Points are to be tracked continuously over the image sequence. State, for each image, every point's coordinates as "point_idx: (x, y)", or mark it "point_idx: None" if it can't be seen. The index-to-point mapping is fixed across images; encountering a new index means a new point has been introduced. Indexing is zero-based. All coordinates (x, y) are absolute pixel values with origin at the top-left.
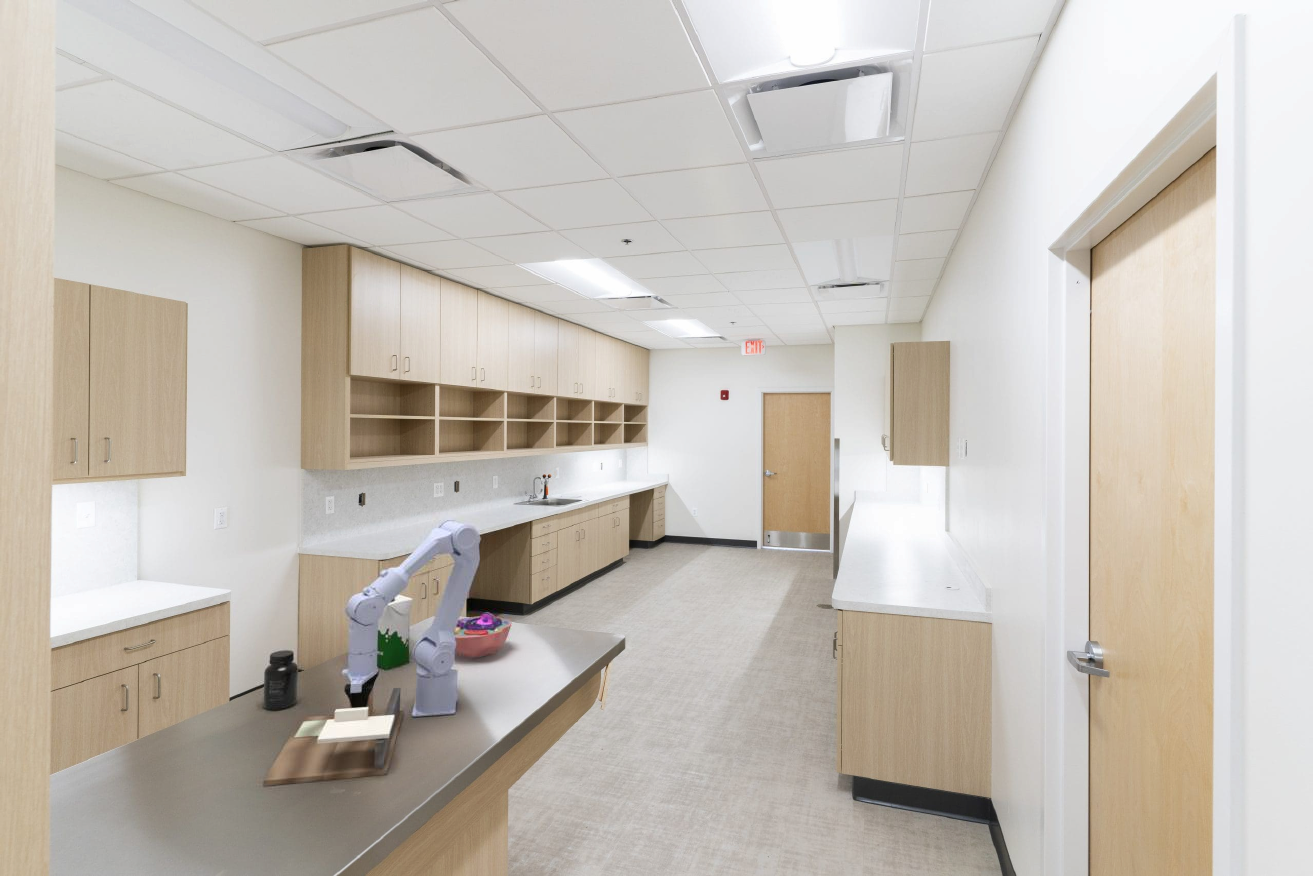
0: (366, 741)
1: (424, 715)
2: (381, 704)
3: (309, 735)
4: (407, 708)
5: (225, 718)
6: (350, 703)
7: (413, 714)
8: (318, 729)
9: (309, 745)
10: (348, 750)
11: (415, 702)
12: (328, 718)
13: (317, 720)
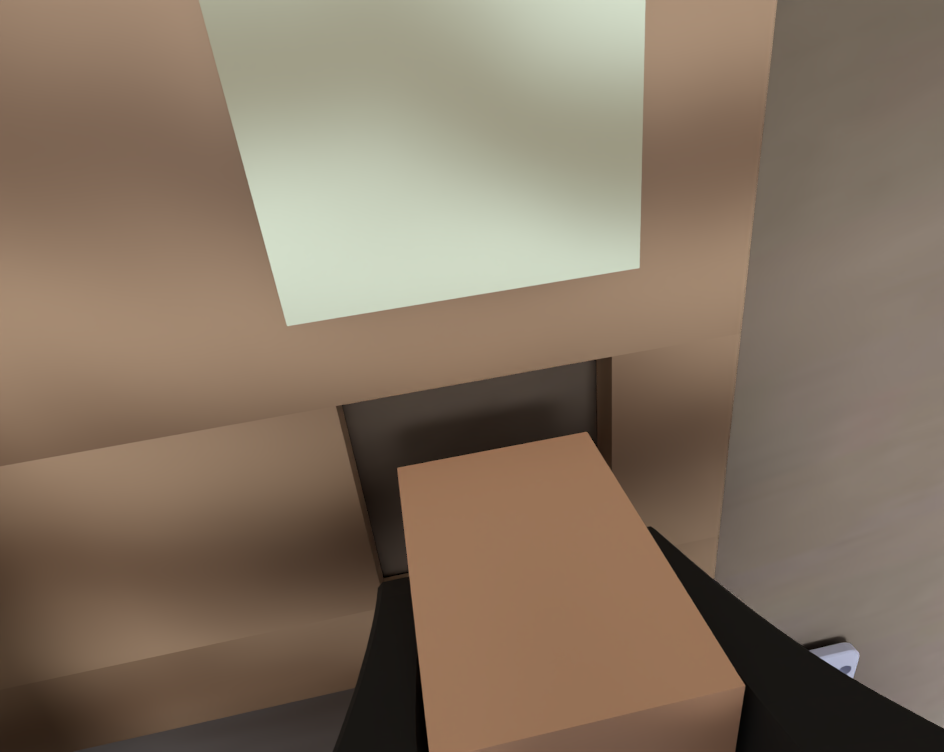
0: (203, 629)
1: None
2: (907, 452)
3: (244, 75)
4: (779, 621)
5: None
6: (421, 683)
7: None
8: (405, 132)
9: (8, 173)
10: (11, 573)
11: (825, 660)
12: (691, 137)
13: (666, 14)
